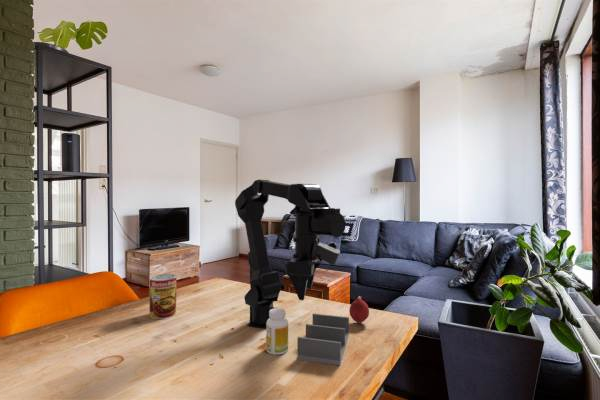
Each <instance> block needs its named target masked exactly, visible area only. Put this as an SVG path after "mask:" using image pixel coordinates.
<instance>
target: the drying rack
mask: <svg viewBox="0 0 600 400" xmlns="http://www.w3.org/2000/svg"><path fill="white" fill-rule="evenodd" d="M349 331H350V318H349V316H340V315H331V314H330V315H329V314H322V313H312V324H310V323H306V324H305V337H304V336H297V345H296V346H297V347H296V348H297V352H296V353H297V356H296V358H297V360H300V361H308V362H314V363H321V364H328V365H335V366H341V364H342V361H343V358H344V355H345V354H344V353H345V351H346V346H347V345H348V339H349V337H350V336H349V335H350V332H349Z"/></svg>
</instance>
